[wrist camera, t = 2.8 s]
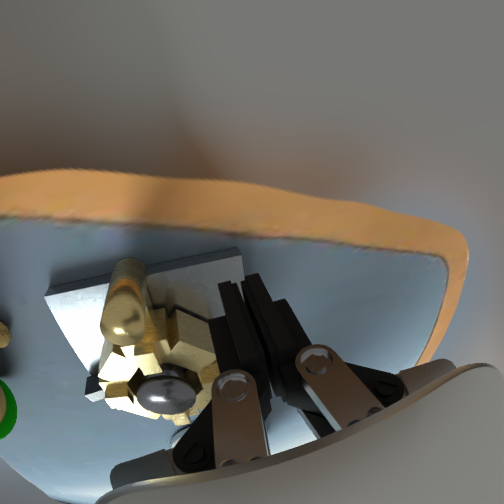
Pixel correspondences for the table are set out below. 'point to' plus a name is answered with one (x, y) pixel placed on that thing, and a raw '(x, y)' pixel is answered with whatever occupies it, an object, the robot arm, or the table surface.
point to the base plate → (162, 296)
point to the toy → (6, 393)
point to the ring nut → (150, 344)
